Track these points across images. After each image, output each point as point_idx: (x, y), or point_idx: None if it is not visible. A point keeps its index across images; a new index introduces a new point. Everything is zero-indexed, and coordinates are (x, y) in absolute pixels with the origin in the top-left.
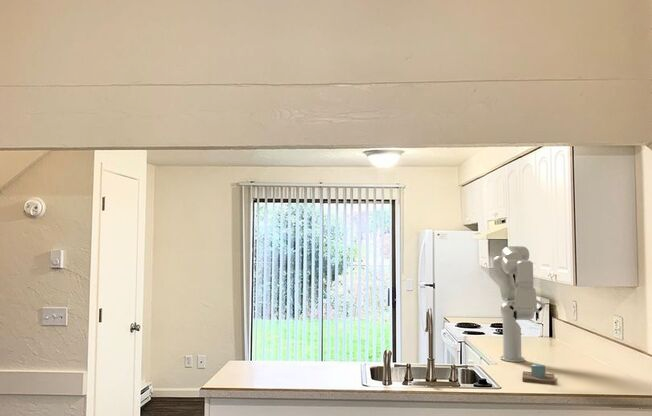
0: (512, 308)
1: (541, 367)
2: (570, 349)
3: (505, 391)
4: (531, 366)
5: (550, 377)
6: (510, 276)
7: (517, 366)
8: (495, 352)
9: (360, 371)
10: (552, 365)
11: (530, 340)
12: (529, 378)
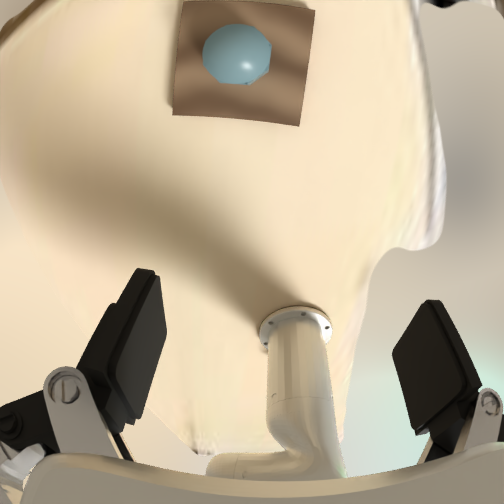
0: (501, 427)
1: (223, 27)
2: (154, 408)
3: None
4: (270, 48)
5: (192, 52)
6: None
7: (297, 255)
8: None
9: None
10: (177, 292)
11: (227, 442)
12: (285, 10)
